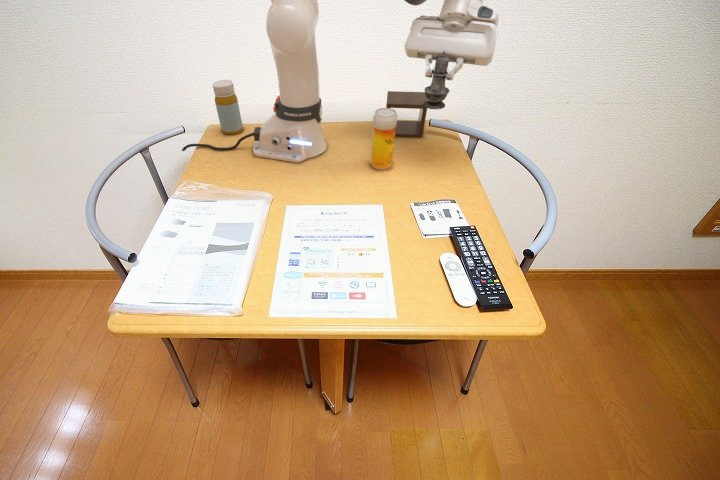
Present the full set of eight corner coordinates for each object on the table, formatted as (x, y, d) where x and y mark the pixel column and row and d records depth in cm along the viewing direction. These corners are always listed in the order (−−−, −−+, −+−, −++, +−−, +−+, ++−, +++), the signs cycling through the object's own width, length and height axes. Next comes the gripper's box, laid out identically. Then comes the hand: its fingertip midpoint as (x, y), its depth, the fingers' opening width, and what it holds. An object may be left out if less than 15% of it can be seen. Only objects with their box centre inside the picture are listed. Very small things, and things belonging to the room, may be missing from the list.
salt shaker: (446, 110, 88) (458, 55, 79) (421, 109, 89) (430, 54, 80) (446, 100, 92) (457, 47, 83) (422, 99, 93) (430, 46, 84)
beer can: (392, 170, 101) (399, 116, 90) (370, 170, 101) (374, 117, 90) (390, 159, 105) (396, 106, 94) (369, 159, 105) (372, 107, 94)
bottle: (217, 132, 121) (206, 85, 110) (231, 124, 125) (221, 78, 114) (233, 137, 118) (223, 89, 107) (247, 128, 122) (238, 81, 111)
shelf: (383, 135, 115) (386, 103, 108) (384, 122, 122) (387, 91, 115) (422, 137, 114) (427, 104, 106) (421, 123, 120) (426, 92, 113)
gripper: (413, 6, 85) (394, 64, 86) (506, 12, 78) (484, 76, 79) (416, 23, 91) (398, 78, 92) (502, 31, 83) (482, 90, 85)
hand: (438, 77), depth 85 cm, fingers closed on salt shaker, 3 cm apart
